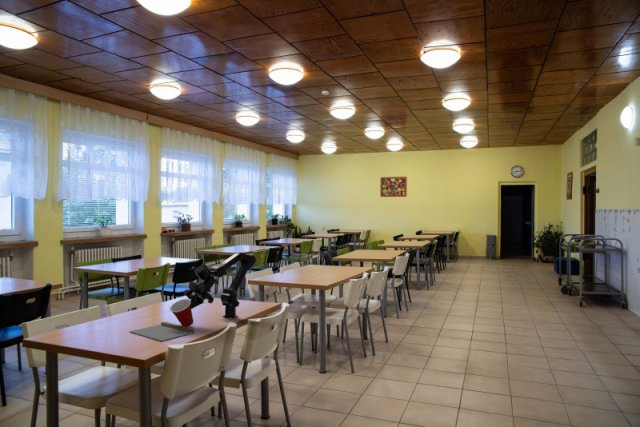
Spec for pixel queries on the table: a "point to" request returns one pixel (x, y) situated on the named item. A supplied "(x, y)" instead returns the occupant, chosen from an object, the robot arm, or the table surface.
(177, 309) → the plastic cup
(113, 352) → the table surface
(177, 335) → the mat
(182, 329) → the stop strip
